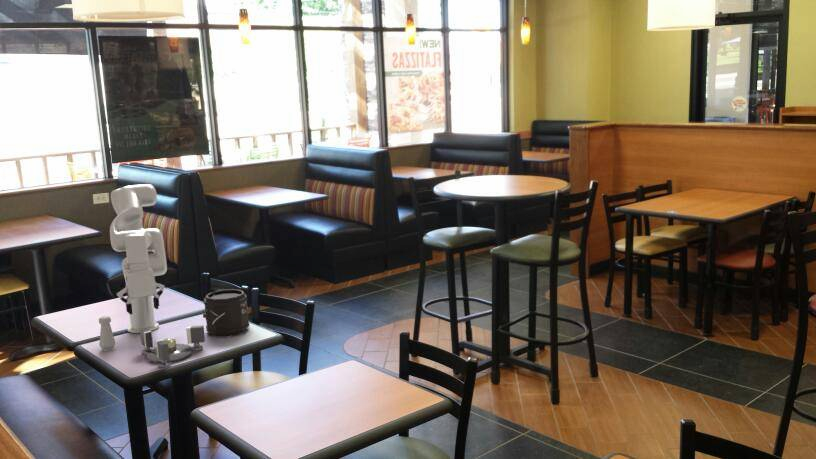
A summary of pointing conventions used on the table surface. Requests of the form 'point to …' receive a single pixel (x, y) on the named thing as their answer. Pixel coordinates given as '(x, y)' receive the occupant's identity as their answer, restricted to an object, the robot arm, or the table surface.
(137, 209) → the robot arm
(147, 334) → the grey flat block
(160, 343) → the knob front
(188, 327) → the knob near left
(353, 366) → the table surface
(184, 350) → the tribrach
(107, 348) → the salt shaker
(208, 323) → the wooden barrel
